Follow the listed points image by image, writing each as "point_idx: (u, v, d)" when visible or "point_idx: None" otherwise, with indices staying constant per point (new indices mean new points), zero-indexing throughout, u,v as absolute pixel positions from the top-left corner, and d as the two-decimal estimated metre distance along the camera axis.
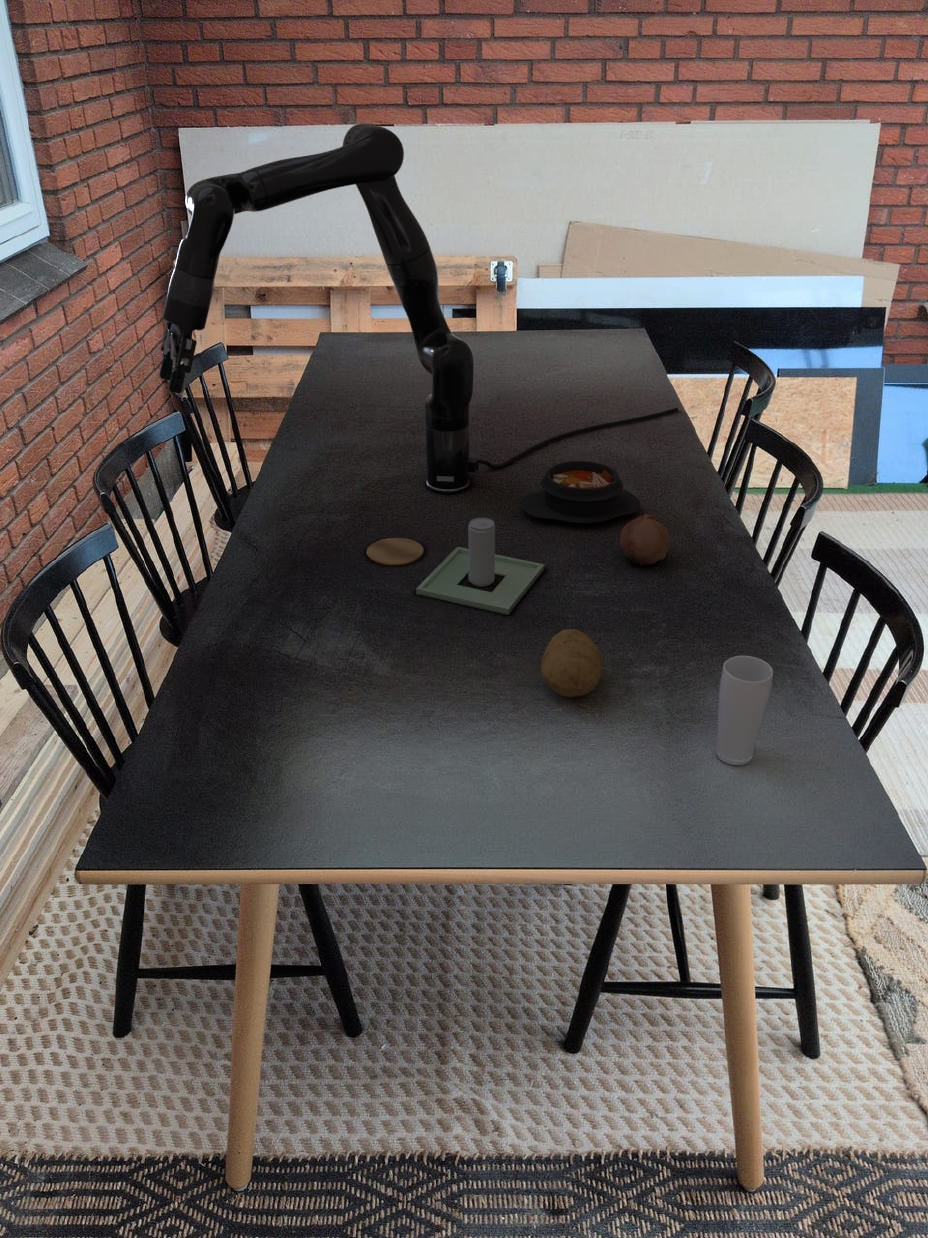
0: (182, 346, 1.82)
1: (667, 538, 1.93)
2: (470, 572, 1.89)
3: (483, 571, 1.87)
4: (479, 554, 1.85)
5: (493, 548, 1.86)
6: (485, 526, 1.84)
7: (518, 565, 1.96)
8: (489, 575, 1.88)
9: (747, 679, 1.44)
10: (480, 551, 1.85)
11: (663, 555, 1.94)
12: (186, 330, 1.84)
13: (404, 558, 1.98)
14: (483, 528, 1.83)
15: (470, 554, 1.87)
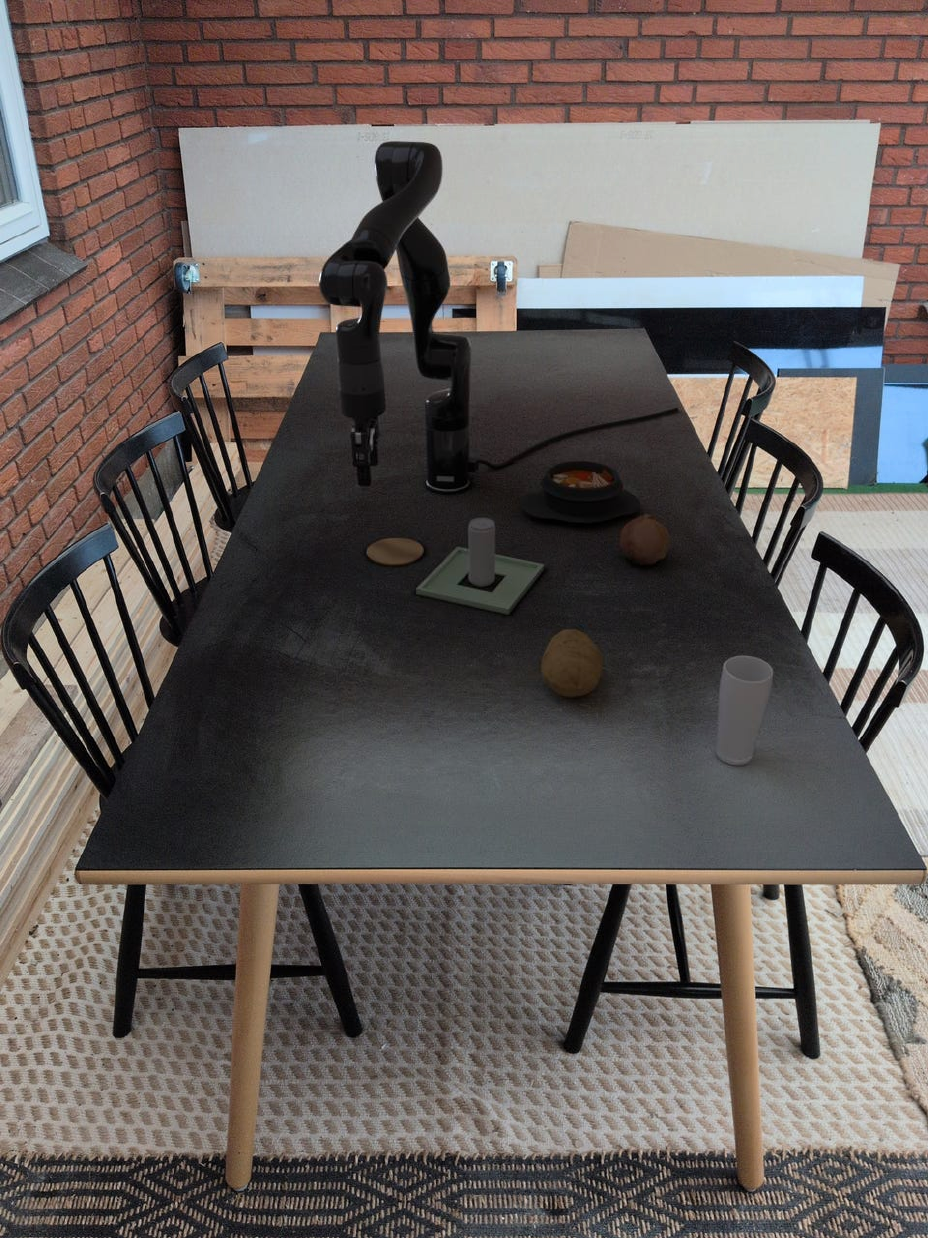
0: (352, 442, 1.69)
1: (667, 538, 1.93)
2: (470, 572, 1.89)
3: (483, 571, 1.87)
4: (479, 554, 1.85)
5: (493, 548, 1.86)
6: (485, 526, 1.84)
7: (518, 565, 1.96)
8: (489, 575, 1.88)
9: (747, 679, 1.44)
10: (480, 551, 1.85)
11: (663, 555, 1.94)
12: (359, 421, 1.70)
13: (404, 558, 1.98)
14: (483, 528, 1.83)
15: (470, 554, 1.87)
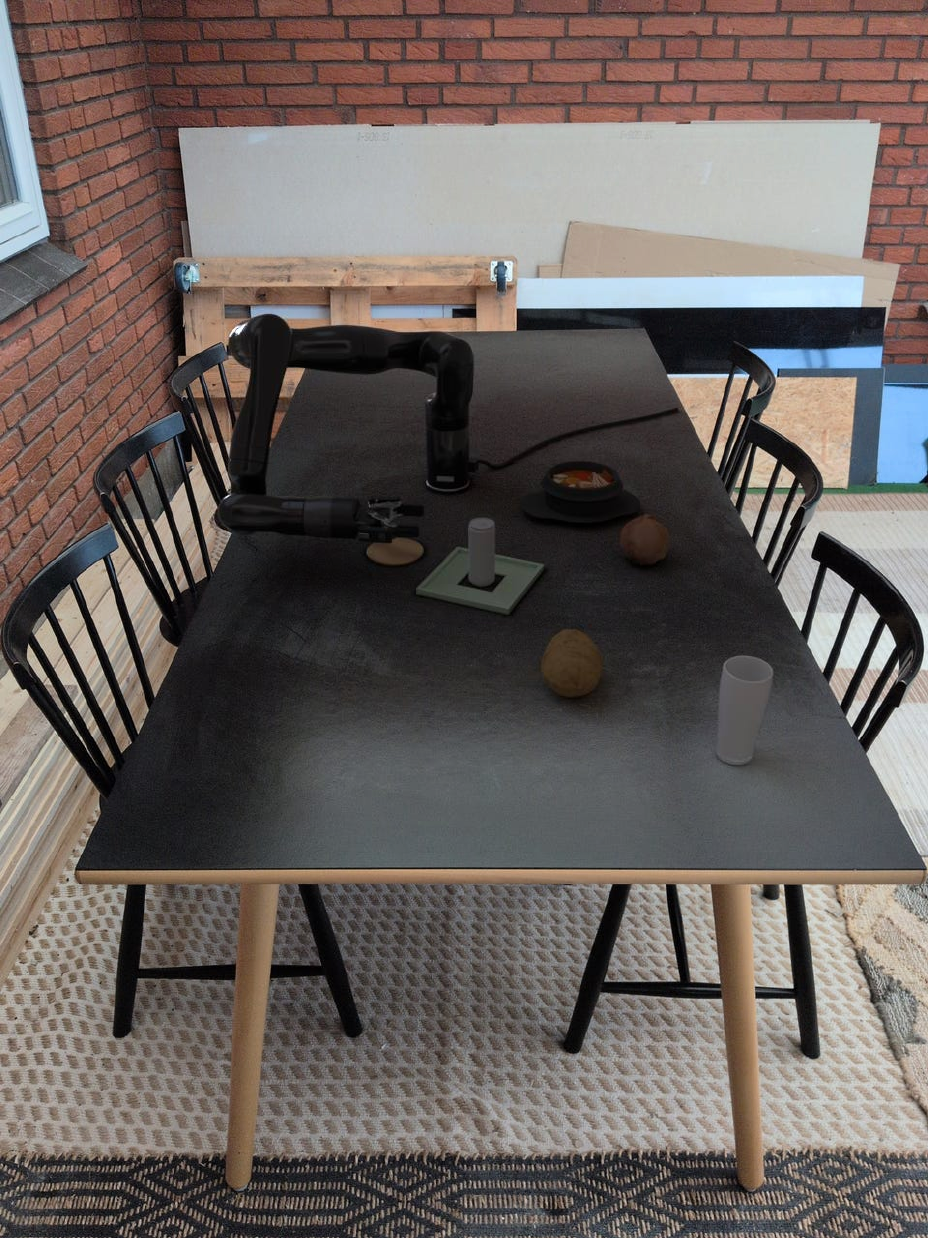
0: (366, 541, 1.81)
1: (667, 538, 1.93)
2: (470, 572, 1.89)
3: (483, 571, 1.87)
4: (479, 554, 1.85)
5: (493, 548, 1.86)
6: (485, 526, 1.84)
7: (518, 565, 1.96)
8: (489, 575, 1.88)
9: (747, 679, 1.44)
10: (480, 551, 1.85)
11: (663, 555, 1.94)
12: (356, 528, 1.83)
13: (404, 558, 1.98)
14: (483, 528, 1.83)
15: (470, 554, 1.87)
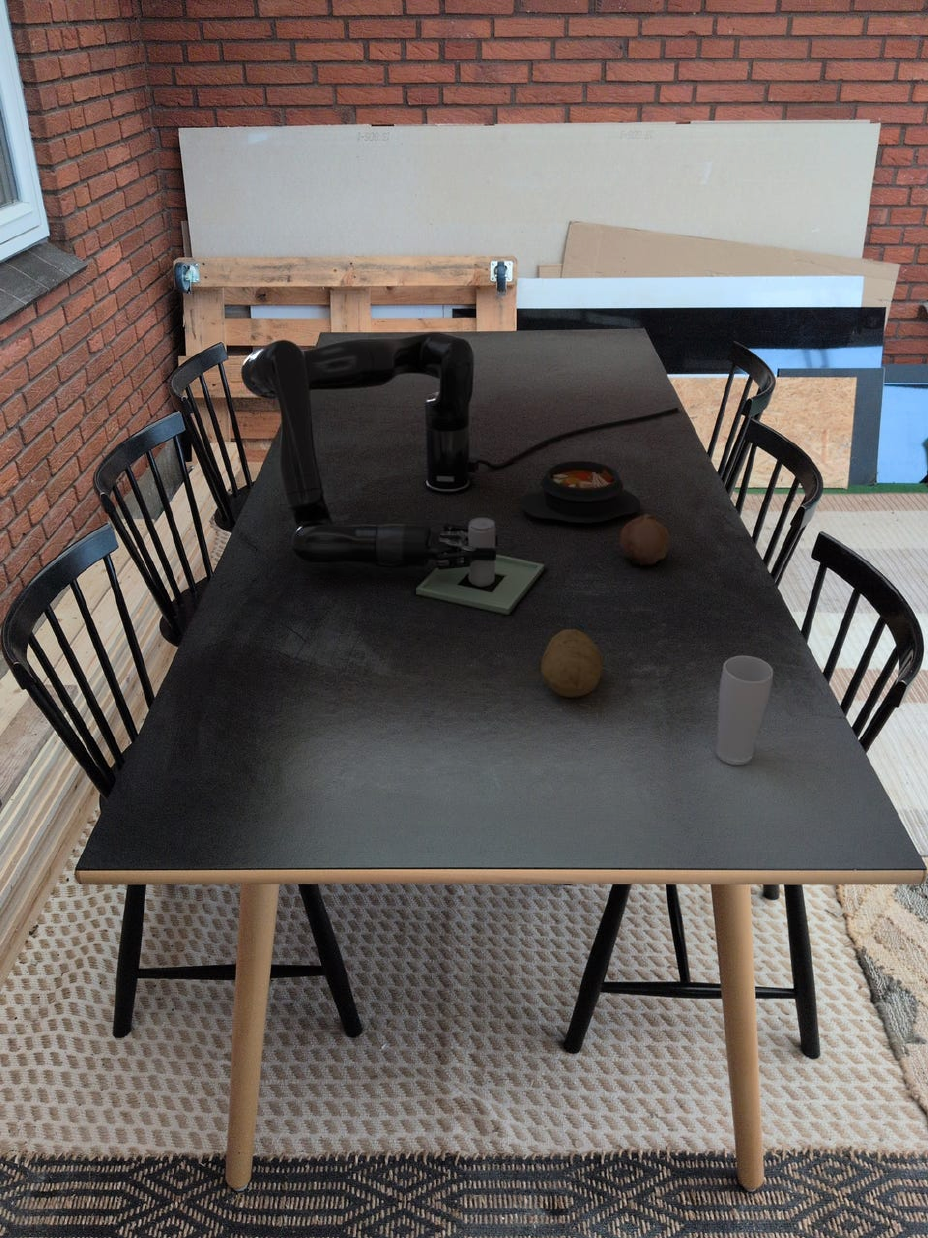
0: (446, 568, 1.83)
1: (667, 538, 1.93)
2: (470, 572, 1.89)
3: (483, 571, 1.87)
4: None
5: None
6: (486, 526, 1.84)
7: (518, 565, 1.96)
8: (489, 575, 1.88)
9: (747, 679, 1.44)
10: None
11: (663, 555, 1.94)
12: (428, 556, 1.85)
13: None
14: (484, 528, 1.83)
15: None
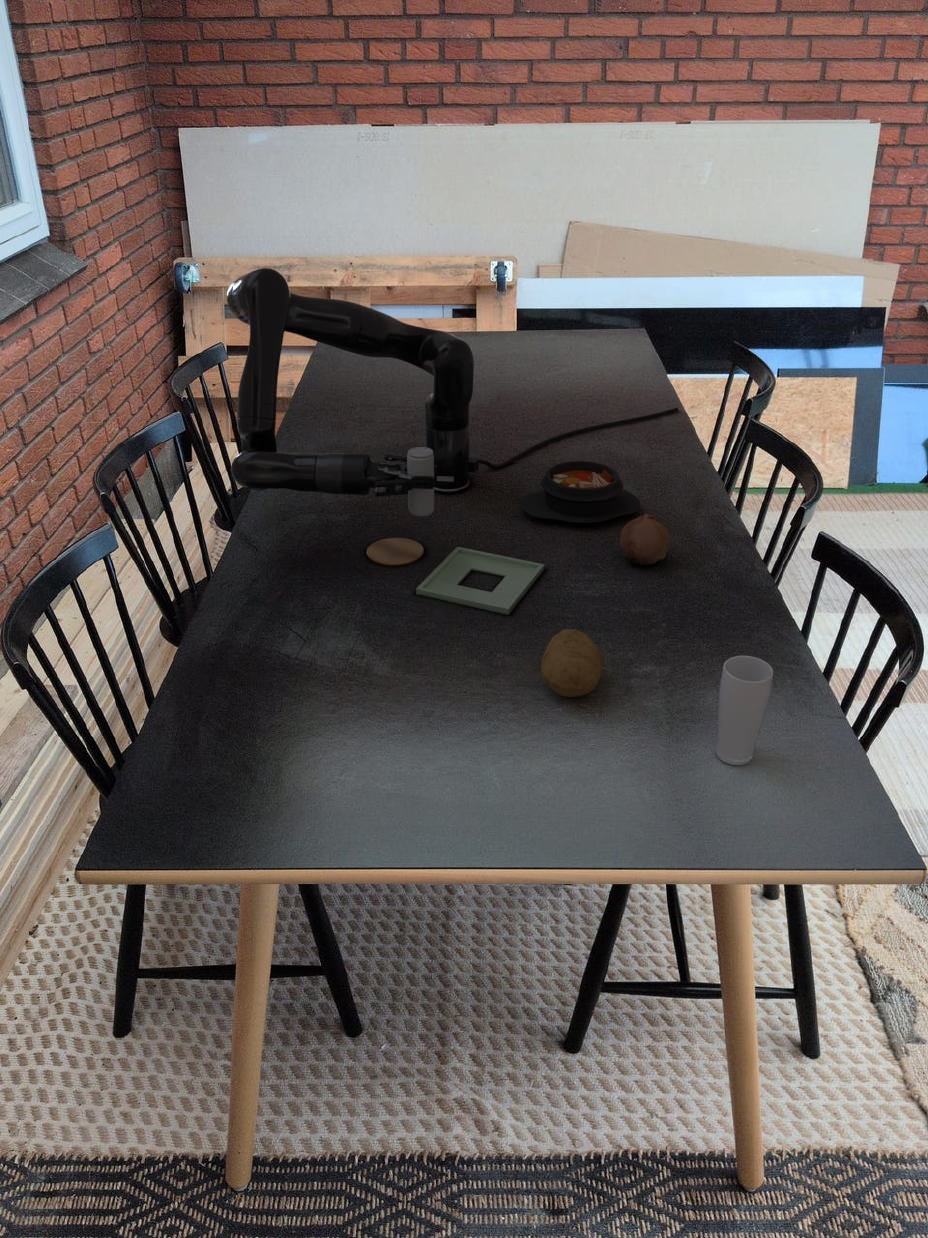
0: (384, 495, 1.84)
1: (667, 538, 1.93)
2: (409, 501, 1.90)
3: (422, 499, 1.89)
4: None
5: None
6: (424, 454, 1.86)
7: (518, 565, 1.96)
8: (428, 504, 1.90)
9: (747, 679, 1.44)
10: None
11: (663, 555, 1.94)
12: (367, 483, 1.86)
13: (404, 558, 1.98)
14: (421, 456, 1.85)
15: None
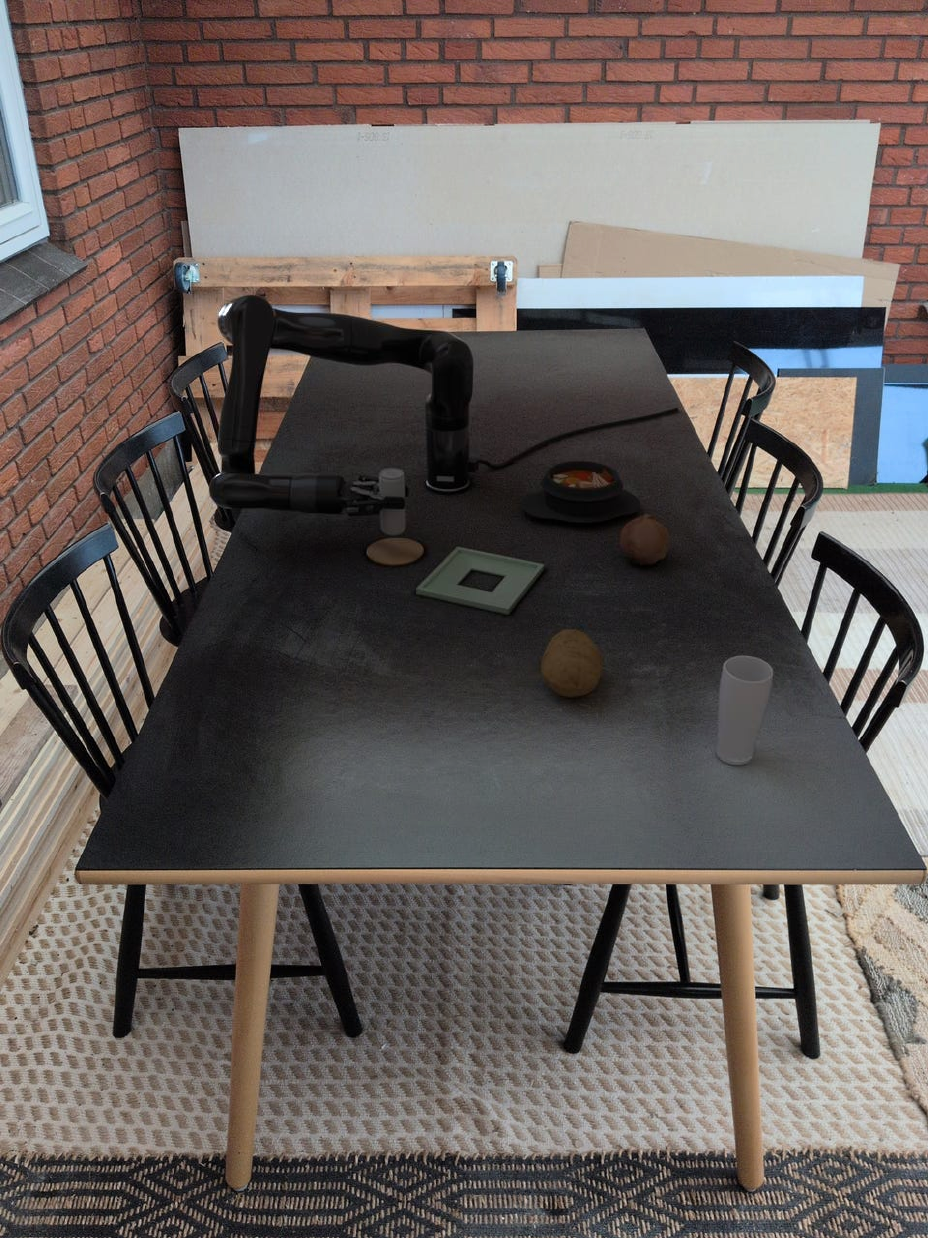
0: (356, 515, 1.91)
1: (667, 538, 1.93)
2: (381, 521, 1.97)
3: (393, 519, 1.95)
4: None
5: None
6: (395, 475, 1.92)
7: (518, 565, 1.96)
8: (399, 524, 1.96)
9: (747, 679, 1.44)
10: None
11: (663, 555, 1.94)
12: (340, 503, 1.93)
13: (404, 558, 1.98)
14: (392, 477, 1.91)
15: None
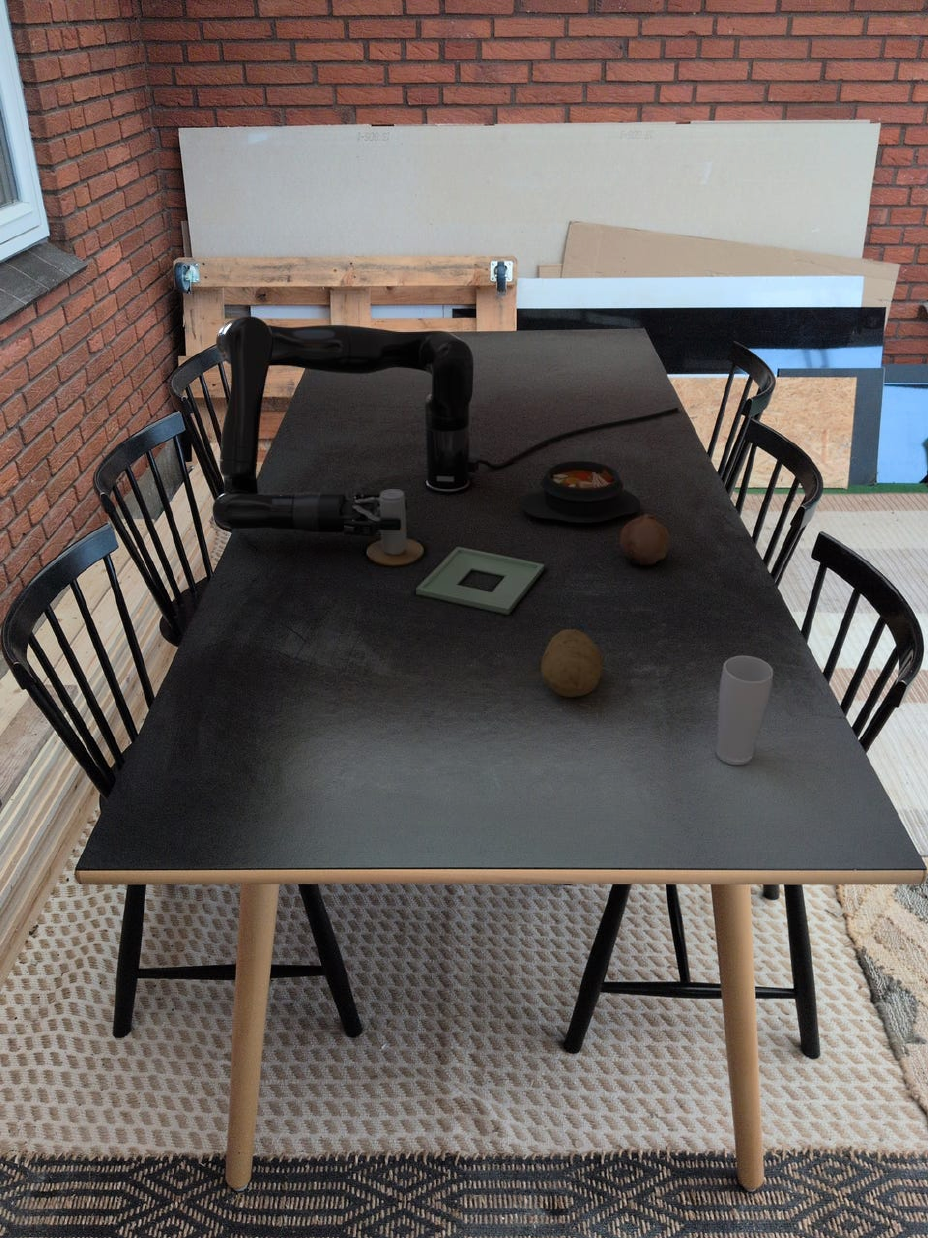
0: (352, 534, 1.92)
1: (667, 538, 1.93)
2: (382, 541, 1.99)
3: (394, 539, 1.97)
4: None
5: (403, 518, 1.96)
6: (395, 496, 1.94)
7: (518, 565, 1.96)
8: (400, 544, 1.98)
9: (747, 679, 1.44)
10: None
11: (663, 555, 1.94)
12: (342, 522, 1.95)
13: (404, 558, 1.98)
14: (393, 498, 1.93)
15: None
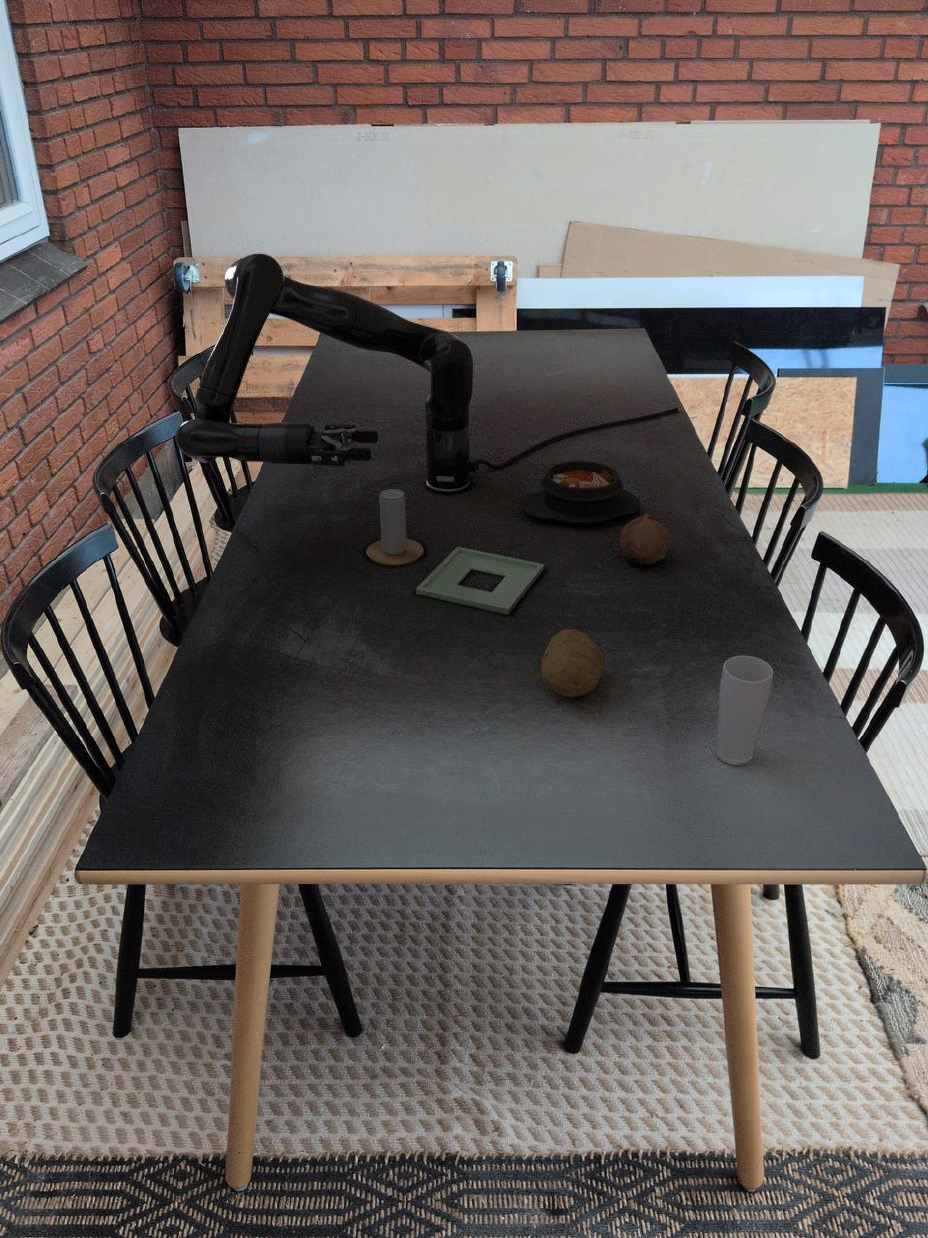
0: (319, 464, 1.85)
1: (667, 538, 1.93)
2: (382, 541, 1.99)
3: (394, 539, 1.97)
4: (390, 523, 1.95)
5: (403, 518, 1.96)
6: (395, 496, 1.94)
7: (518, 565, 1.96)
8: (400, 544, 1.98)
9: (747, 679, 1.44)
10: (390, 520, 1.95)
11: (663, 555, 1.94)
12: (310, 452, 1.88)
13: (404, 558, 1.98)
14: (393, 498, 1.93)
15: (382, 523, 1.97)
